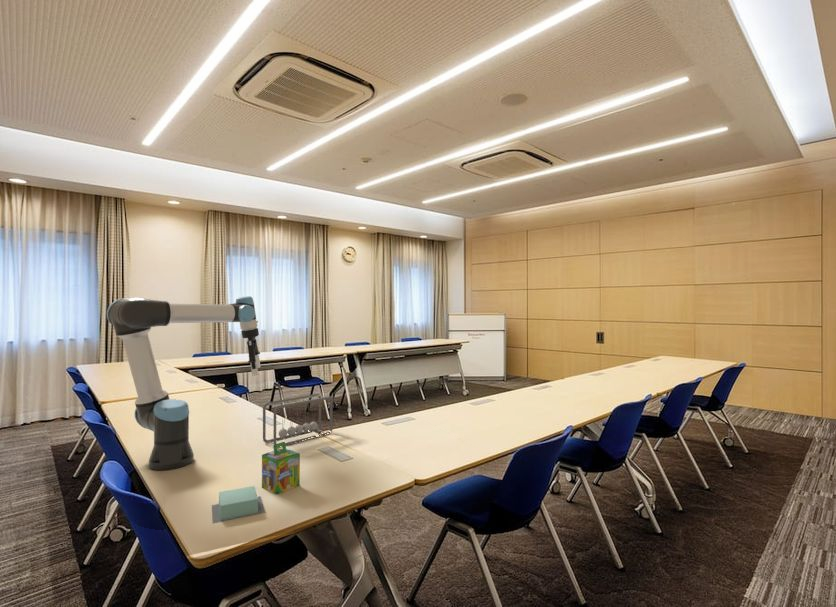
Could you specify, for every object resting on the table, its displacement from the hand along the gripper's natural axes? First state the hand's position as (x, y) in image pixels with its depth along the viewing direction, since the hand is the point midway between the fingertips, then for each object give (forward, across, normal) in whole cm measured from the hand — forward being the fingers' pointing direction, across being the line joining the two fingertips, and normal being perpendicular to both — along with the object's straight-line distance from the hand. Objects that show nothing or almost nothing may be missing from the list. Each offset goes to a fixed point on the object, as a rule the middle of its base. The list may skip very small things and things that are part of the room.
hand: (256, 371), depth 211 cm
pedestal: (+18, -88, +1) cm, 90 cm away
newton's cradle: (+29, -22, -16) cm, 40 cm away
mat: (+19, -89, +1) cm, 91 cm away
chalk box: (+22, -75, -10) cm, 79 cm away
